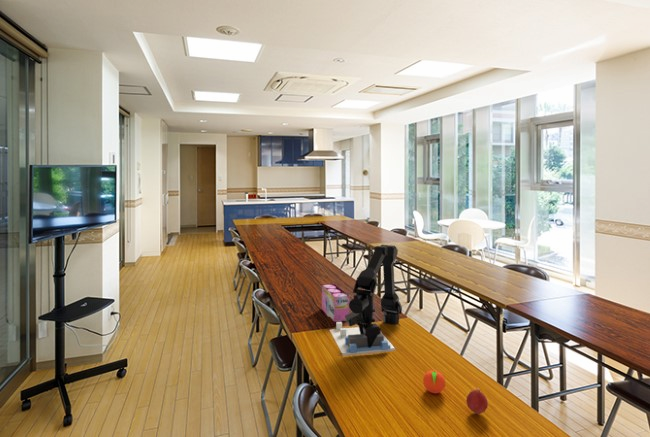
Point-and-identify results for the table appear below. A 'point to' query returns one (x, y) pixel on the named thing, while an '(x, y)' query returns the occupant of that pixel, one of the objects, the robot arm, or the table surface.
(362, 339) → the long grey block
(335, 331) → the board
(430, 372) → the clementine
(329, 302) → the pink drink multipack
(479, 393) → the onion
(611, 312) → the table surface
